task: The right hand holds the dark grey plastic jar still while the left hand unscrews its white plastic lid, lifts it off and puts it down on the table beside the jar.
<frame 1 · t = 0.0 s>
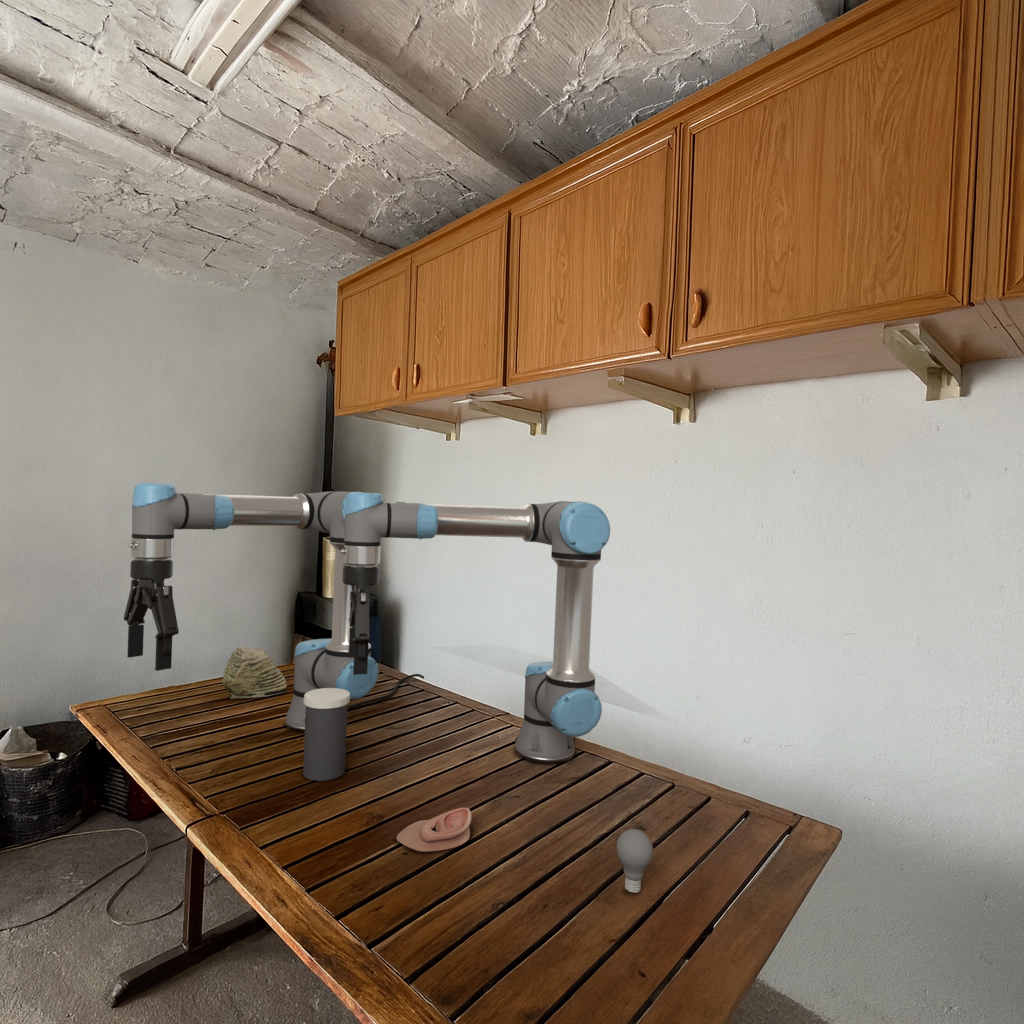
left hand: (148, 662, 129), 28 cm above the table, tool pointing down, fingers open, 13 cm apart
right hand: (357, 665, 134), 28 cm above the table, tool pointing down, fingers open, 13 cm apart
anatomical model: (434, 837, 120), on the table
jar: (324, 771, 146), on the table
lid: (327, 695, 145), point 18 cm above the table, screwed on, not yet turned
fossil: (254, 694, 198), on the table
light bulb: (632, 891, 106), on the table
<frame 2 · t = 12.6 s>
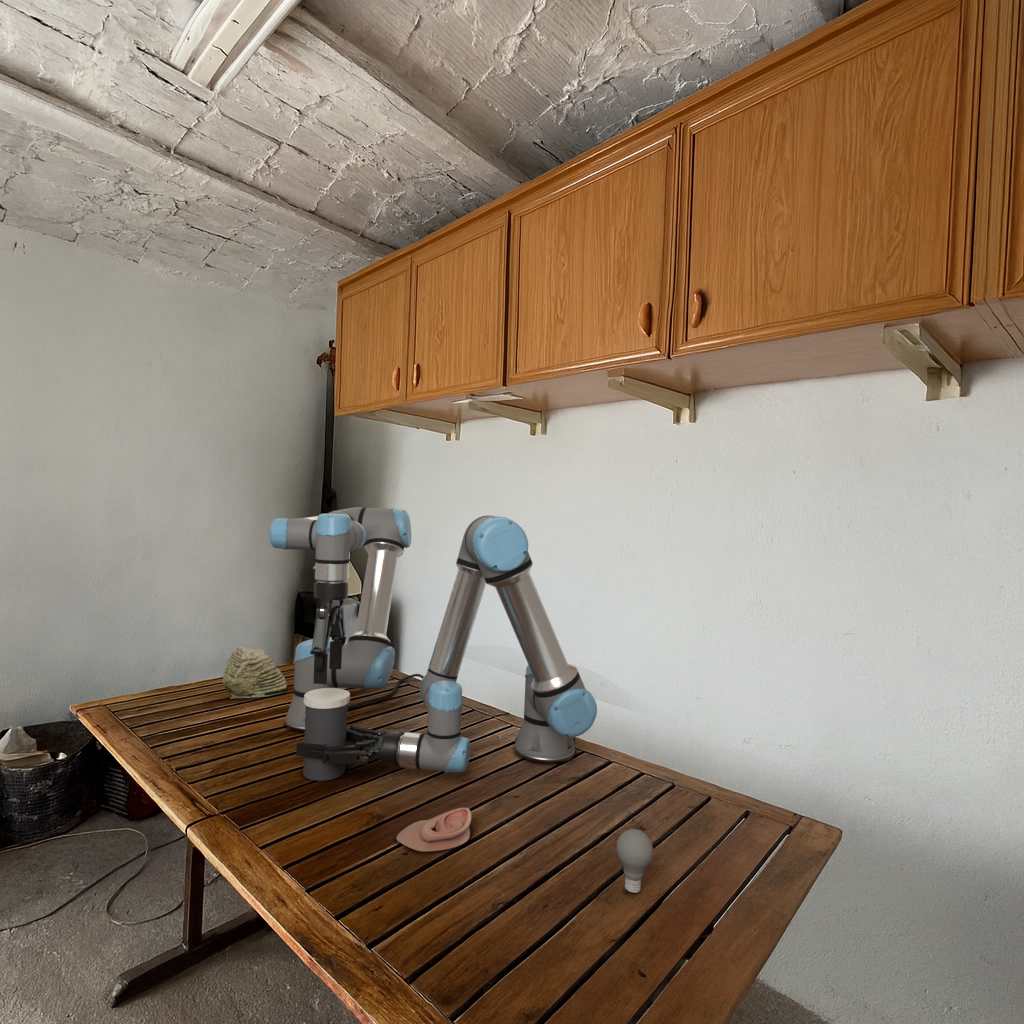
left hand: (327, 675, 145), 22 cm above the table, tool pointing down, fingers open, 11 cm apart
right hand: (306, 740, 146), 7 cm above the table, tool horizontal, fingers closed on jar, 9 cm apart
jar: (324, 771, 146), on the table, touching right hand
everything else where it was.
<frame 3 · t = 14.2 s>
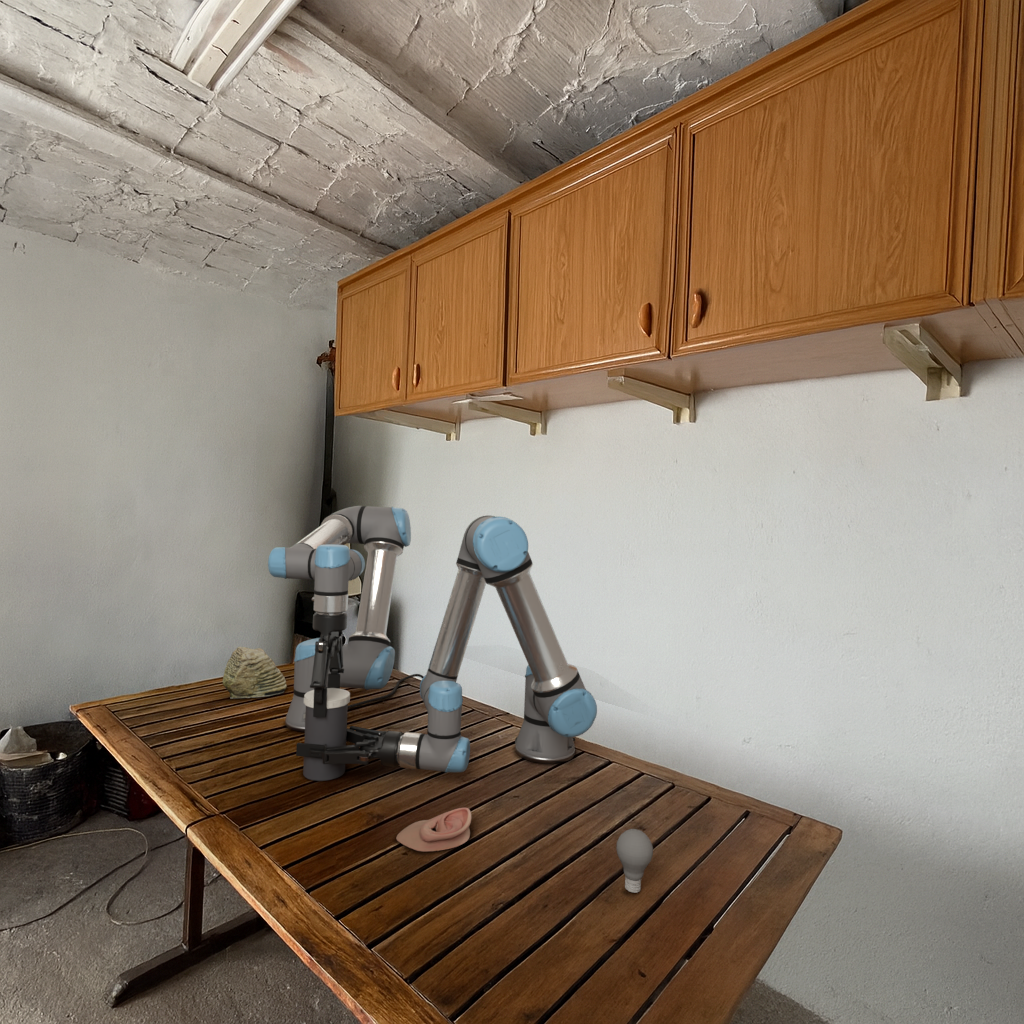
left hand: (326, 708, 145), 15 cm above the table, tool pointing down, fingers closed on lid, 10 cm apart
right hand: (306, 740, 146), 7 cm above the table, tool horizontal, fingers closed on jar, 9 cm apart
jar: (324, 771, 146), on the table, touching right hand
lid: (327, 695, 145), point 18 cm above the table, screwed on, not yet turned, touching left hand
everything else where it was.
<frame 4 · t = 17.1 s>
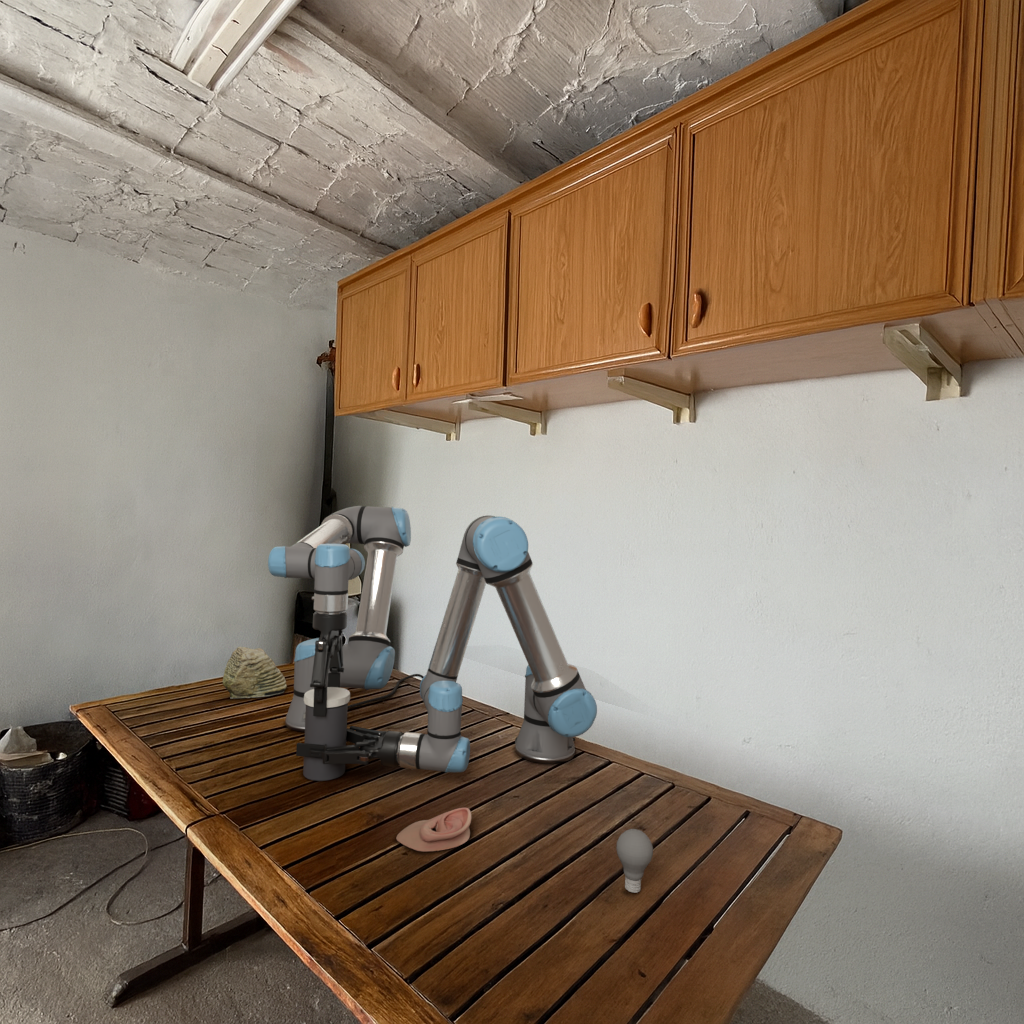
left hand: (326, 707, 145), 15 cm above the table, tool pointing down, fingers closed on lid, 10 cm apart
right hand: (306, 740, 146), 7 cm above the table, tool horizontal, fingers closed on jar, 9 cm apart
jar: (324, 771, 146), on the table, touching right hand
lid: (327, 695, 145), point 18 cm above the table, turned 73° so far, risen 0.2 cm, still on its thread, touching left hand
everything else where it was.
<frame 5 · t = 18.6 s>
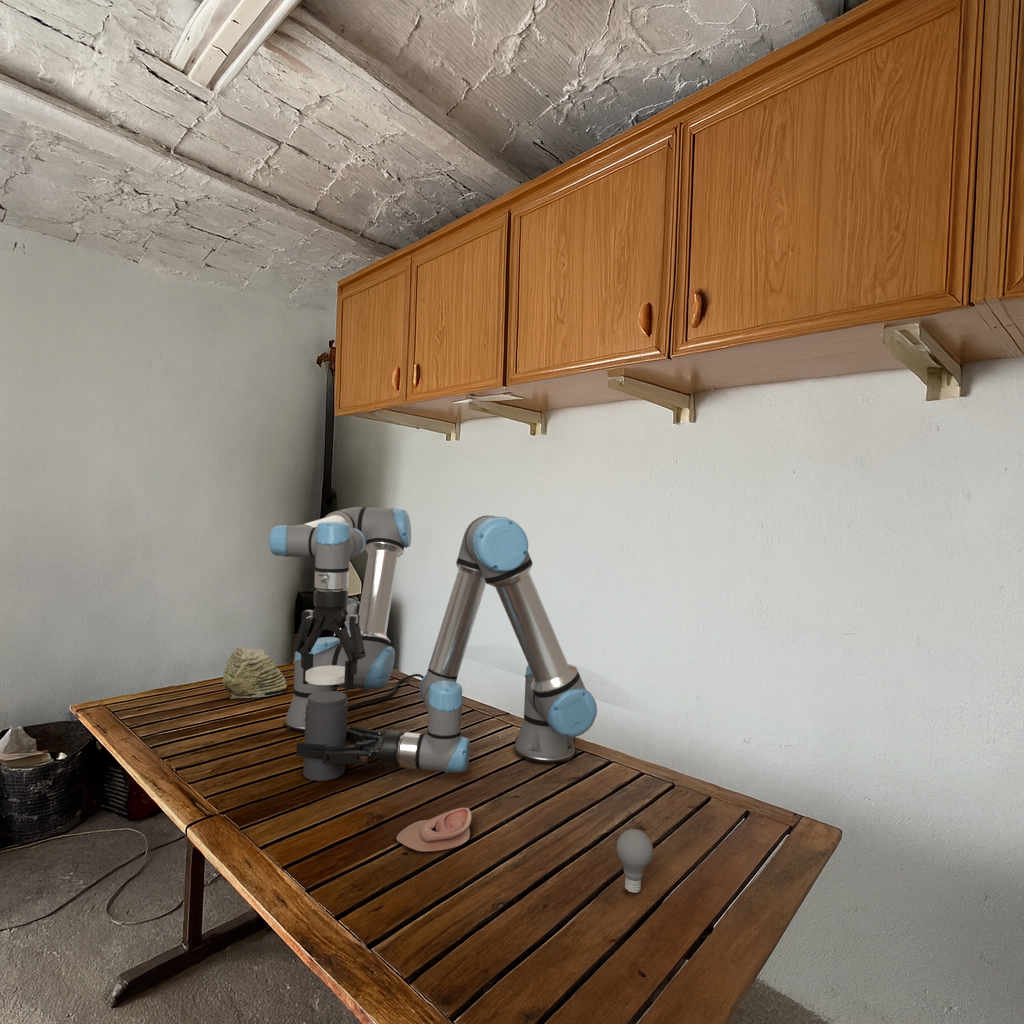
left hand: (328, 685, 146), 20 cm above the table, tool pointing down, fingers closed on lid, 10 cm apart
right hand: (306, 740, 146), 7 cm above the table, tool horizontal, fingers closed on jar, 9 cm apart
jar: (324, 771, 146), on the table, touching right hand
lid: (328, 672, 146), point 23 cm above the table, off its thread, touching left hand
everything else where it was.
when the left hand's fingers open (0 cm above the table, at t = 24.0 s): lid drops 2 cm, point 1 cm above the table.
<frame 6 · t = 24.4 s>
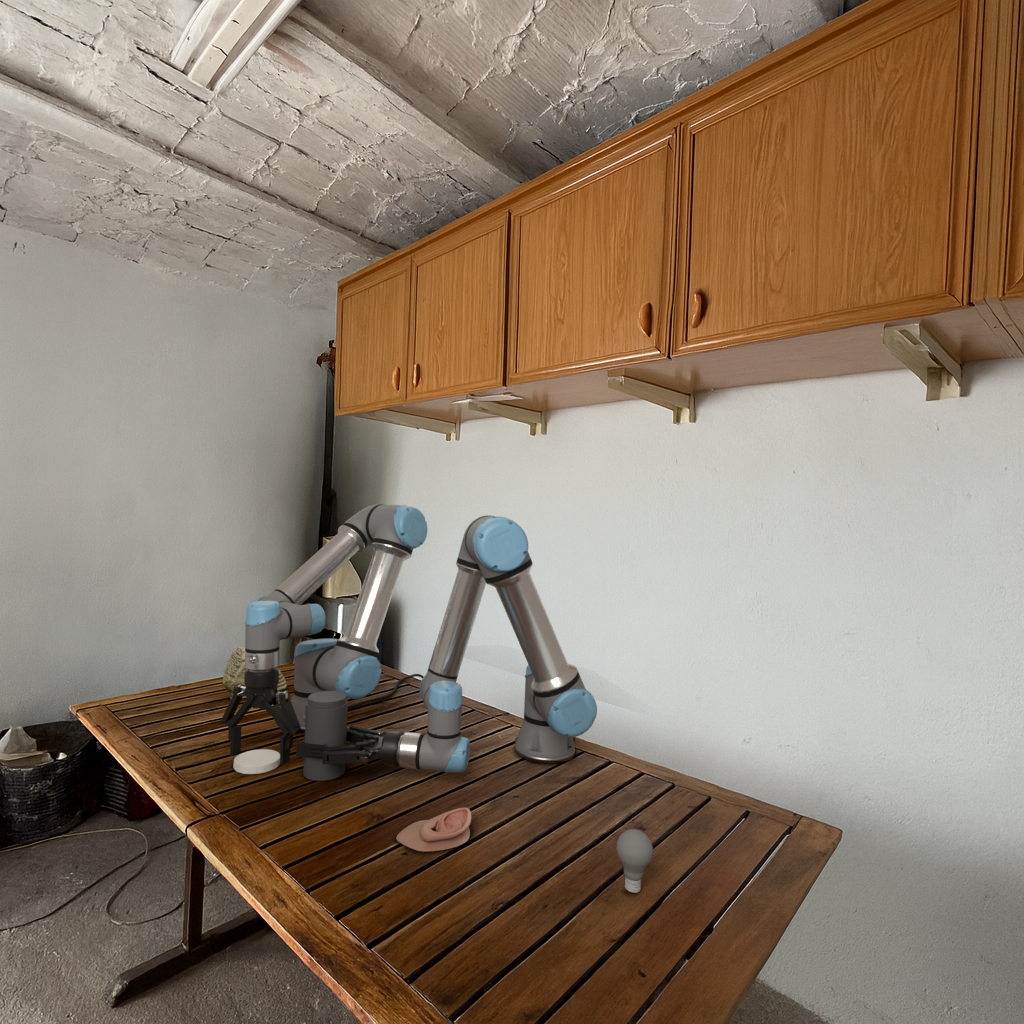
left hand: (259, 758, 148), 1 cm above the table, tool pointing down, fingers open, 13 cm apart
right hand: (306, 740, 146), 7 cm above the table, tool horizontal, fingers closed on jar, 9 cm apart
jar: (324, 771, 146), on the table, touching right hand
lid: (257, 759, 148), point 1 cm above the table, off its thread
everything else where it was.
when the right hand's fingers open (7 cm above the table, at t = 25.0 s): jar stays where it is, on the table.
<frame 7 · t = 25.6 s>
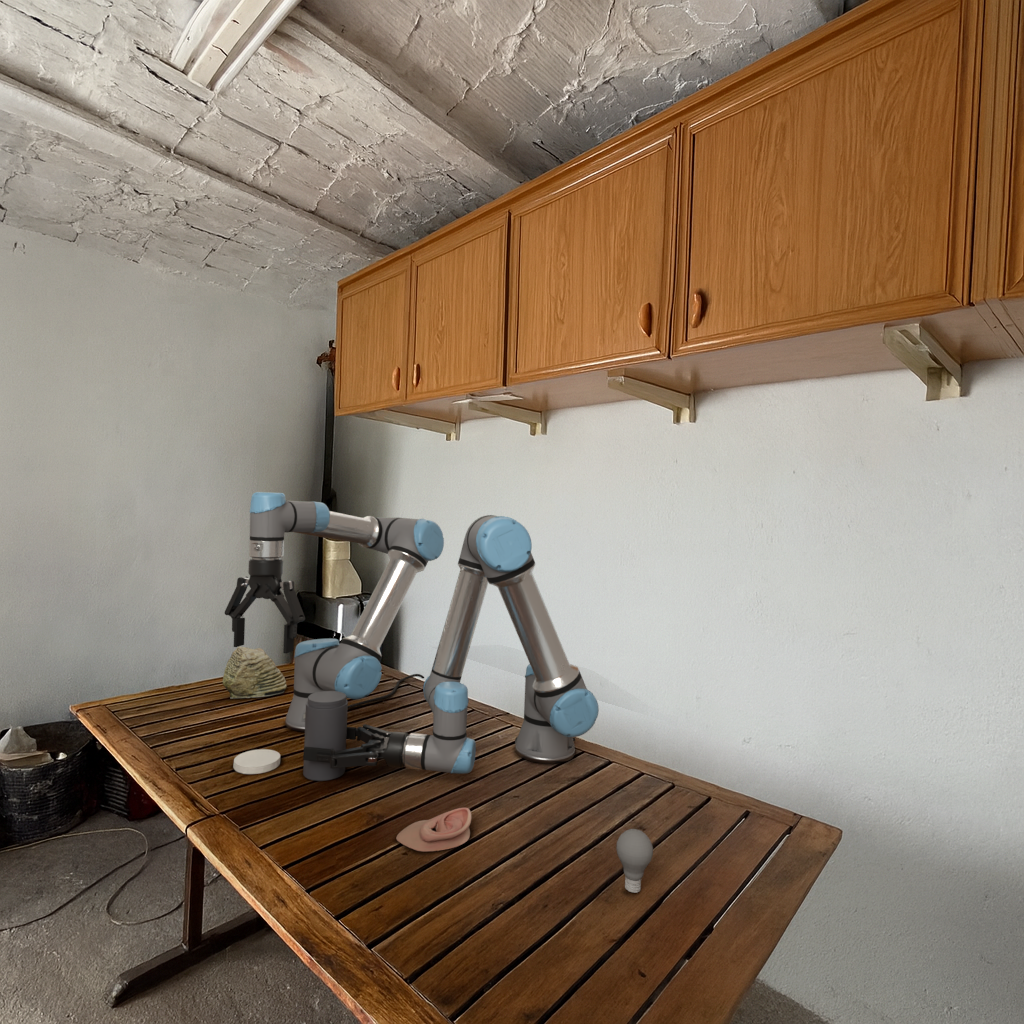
left hand: (263, 649, 148), 27 cm above the table, tool pointing down, fingers open, 13 cm apart
right hand: (317, 741, 146), 7 cm above the table, tool horizontal, fingers open, 13 cm apart
jar: (324, 771, 146), on the table
everything else where it was.
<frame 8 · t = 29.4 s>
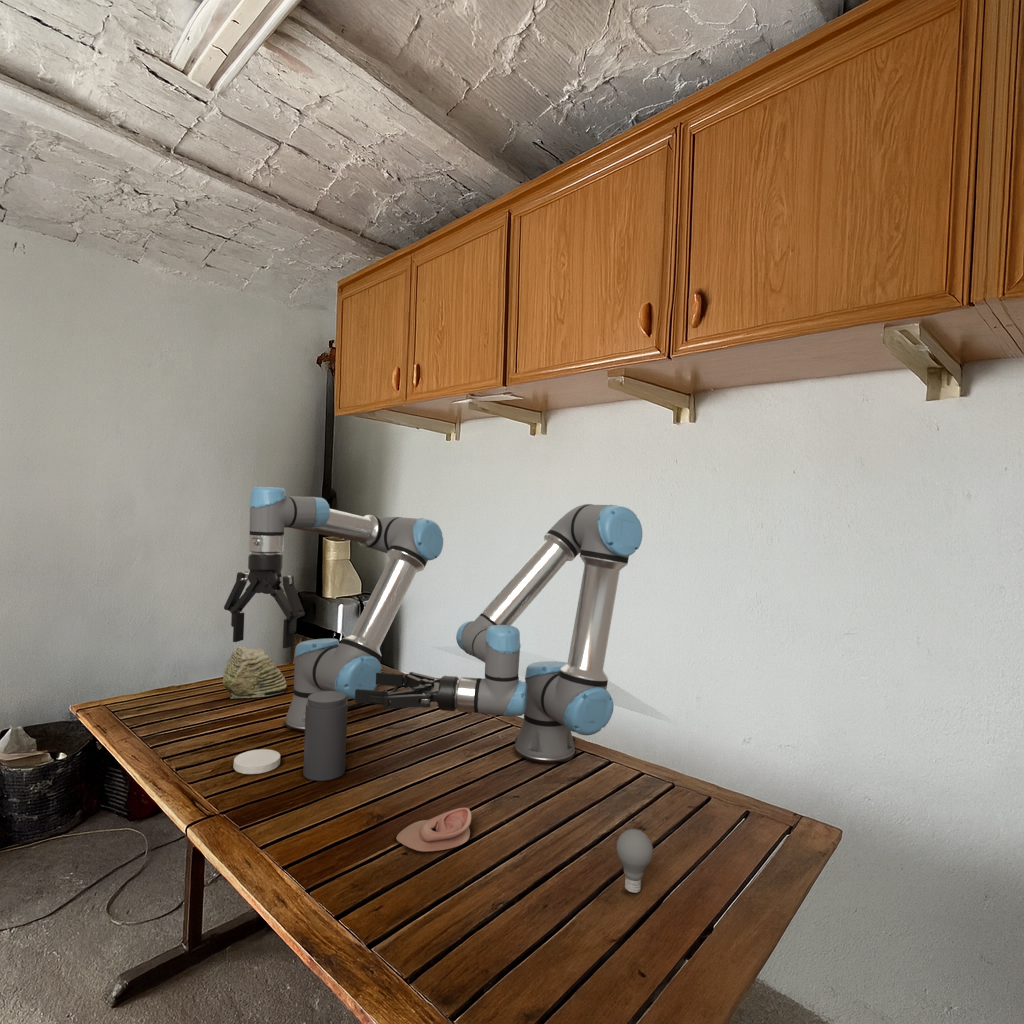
left hand: (262, 644, 148), 28 cm above the table, tool pointing down, fingers open, 13 cm apart
right hand: (366, 686, 144), 20 cm above the table, tool horizontal, fingers open, 13 cm apart
nothing on the table moved.
at the end: lid came off its thread; lid point 1.3 cm above the table; the left hand is holding nothing; the right hand is holding nothing; jar tilted 0°; jar moved 0.0 cm from its start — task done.
